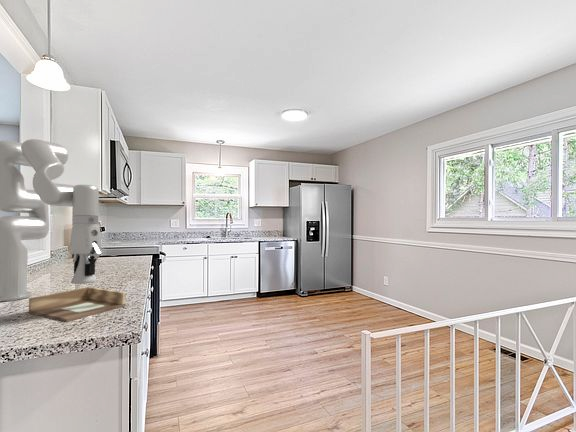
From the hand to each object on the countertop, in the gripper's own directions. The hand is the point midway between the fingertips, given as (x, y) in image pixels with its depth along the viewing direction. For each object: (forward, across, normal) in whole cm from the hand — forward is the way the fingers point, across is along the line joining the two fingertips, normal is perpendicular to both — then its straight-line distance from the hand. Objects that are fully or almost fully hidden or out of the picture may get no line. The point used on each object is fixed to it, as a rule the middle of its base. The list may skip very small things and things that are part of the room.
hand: (84, 274), depth 107 cm
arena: (+12, +2, 0) cm, 12 cm away
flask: (+3, 0, 0) cm, 3 cm away
